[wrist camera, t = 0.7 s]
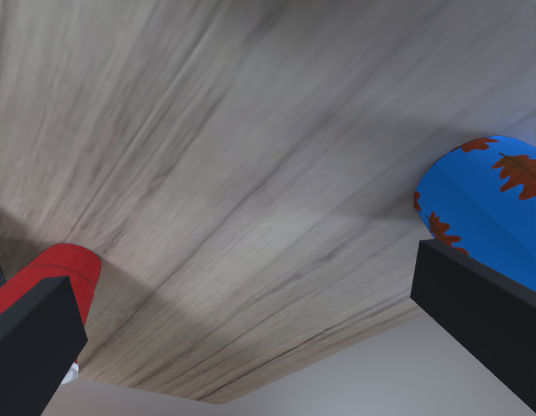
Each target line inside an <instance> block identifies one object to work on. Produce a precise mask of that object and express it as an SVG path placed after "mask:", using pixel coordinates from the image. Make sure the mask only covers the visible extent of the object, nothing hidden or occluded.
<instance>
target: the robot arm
mask: <svg viewBox="0 0 536 416" xmlns="http://www.w3.org/2000/svg"><path fill="white" fill-rule="evenodd" d="M410 298H411V299H412V300H413V301H415V302H416V303H417V304H418V305H419V306H420V307H421V308H422V309H423V310H424V311H425V312H426V313H428V314H429V315H430V316H431V317H432V318H433V319H434V320H435V321H436V322H437V323H438V324H440V325H441V326H442V327H443V328H444V329H445V330H446V331H447V332H448V333H449V334H450V335H451V336H453V337H454V338H455V339H456V340H457V341H458V342H459V343H460V344H461V345H462V346H463V347H465V348H466V349H467V350H468V351H469V352H470V353H471V354H472V355H473V356H474V357H475V358H477V359H478V360H479V361H480V362H481V363H482V364H483V365H484V366H485V367H486V368H487V369H489V370H490V371H491V372H492V373H493V374H494V375H495V376H496V377H497V378H498V379H499V380H500V381H501V382H503V383H504V384H505V385H506V386H507V387H508V388H509V389H510V390H511V391H512V392H513V393H515V394H516V395H517V396H518V397H519V398H520V399H521V400H522V401H523V402H524V403H525V404H526V405H528V406H529V407H530V408H531V409H532V410H533V411H534V412H535V413H536V292H535V291H533V290H532V289H530V288H528V287H526V286H524V285H522V284H520V283H518V282H517V281H515V280H513V279H511V278H509V277H507V276H505V275H503V274H501V273H500V272H498V271H496V270H494V269H492V268H490V267H488V266H486V265H485V264H483V263H481V262H479V261H477V260H475V259H473V258H471V257H469V256H468V255H466V254H464V253H462V252H460V251H458V250H456V249H454V248H453V247H451V246H449V245H447V244H445V243H443V242H441V241H439V240H438V239H430V240H420V241H419V247H418V253H417V259H416V265H415V271H414V277H413V283H412V289H411V295H410ZM87 341H88V339H87V336H86V332H85V329H84V325H83V322H82V319H81V315H80V312H79V308H78V305H77V302H76V298H75V295H74V291H73V288H72V285H71V281H70V278H69V275H67V276H57V277H46V278H43V279H42V280H40V281H39V282H38V283H37V284H36V285H34V286H33V287H32V288H31V289H30V290H28V291H27V292H26V293H25V294H24V295H23V296H21V297H20V298H19V299H18V300H17V301H15V302H14V303H13V304H12V305H11V306H10V307H8V308H7V309H6V310H5V311H4V312H2V313H1V314H0V416H40V415H41V414H42V412H43V411H44V409H45V407H46V406H47V404H48V403H49V401H50V400H51V398H52V396H53V395H54V393H55V392H56V390H57V389H58V387H59V385H60V384H61V382H62V381H63V379H64V377H65V376H66V374H67V373H68V371H69V370H70V368H71V366H72V365H73V363H74V362H75V360H76V358H77V357H78V355H79V354H80V352H81V351H82V349H83V347H84V346H85V344H86V343H87Z"/></svg>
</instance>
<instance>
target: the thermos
mask: <svg viewBox="0 0 536 416" xmlns="http://www.w3.org/2000/svg"><path fill="white" fill-rule="evenodd" d="M414 208H415V209H416V211H417V212H418V214H419V216H420V217H421V219H422V220H423V222H424V223H425V225H426V227H427V228H428V230H429V231H430V233H431V234H432V236H433V237H434V239H438V240H439V241H441V242H443V243H445V244H447V245H449V246H451V247H453V248H454V249H456V250H458V251H460V252H462V253H464V254H466V255H468V256H469V257H471V258H473V259H475V260H477V261H479V262H481V263H483V264H485V265H486V266H488V267H490V268H492V269H494V270H496V271H498V272H500V273H501V274H503V275H505V276H507V277H509V278H511V279H513V280H515V281H517V282H518V283H520V284H522V285H524V286H526V287H528V288H530V289H532V290H533V291H535V292H536V148H535V147H533V146H531V145H529V144H527V143H524V142H522V141H520V140H518V139H515V138H509V137H504V136H492V137H486V138H481V139H475V140H473V141H471V142H469V143H466V144H464V145H462V146H460V147H457V148H455V149H453V150H452V151H451V152H449V153H448V154H446V155H445V156H444V157H442V158H441V159H440V160H438V161H437V162H436V163H434V164H433V166H432V167H431V168H430V169H429V170H428V171H427V173H426V174H425V175H424V176H423V177H422V178H421V180H420V183H419V185H418V187H417V189H416V192H415V194H414Z"/></svg>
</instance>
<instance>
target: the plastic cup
mask: <svg viewBox="0 0 536 416" xmlns="http://www.w3.org/2000/svg"><path fill="white" fill-rule="evenodd" d="M100 270H101V262H100V260H99V258H98V257H97V256H96V255H95V254H94V253H92V252H91V251H89V250H87V249H85V248H83V247H81V246H77V245H73V244H56V245H53V246H51V247H49V248H48V249H46V250H44V251H43V252H42V253H41V254H40V255H39V256H38V257H36V258H35V259H34V260H33V261H32V262H31V263H30V264H28V265H27V266H26V267H23V268H22V269H21V270H20V271H19V272H18V273H17V274H15V275H14V276H13V277H12V278H11V279H10V280H9V281H7V282H6V283H5V284H4V285H3V286H2V287H1V288H0V314H1V313H2V312H4V311H5V310H6V309H7V308H8V307H10V306H11V305H12V304H13V303H14V302H15V301H17V300H18V299H19V298H20V297H21V296H23V295H24V294H25V293H26V292H27V291H28V290H30V289H31V288H32V287H33V286H34V285H36V284H37V283H38V282H39V281H40V280H42V279H43V278H46V277H57V276H67V275H69V278H70V281H71V285H72V288H73V291H74V295H75V298H76V302H77V305H78V308H79V312H80V315H81V319H82V322H83V325H84V326H85V323H86V319H87V316H88V313H89V309H90V306H91V303H92V300H93V296H94V290H95V287H96V284H97V281H98V278H99V275H100ZM77 358H78V357H77ZM77 358H76V360H75V362H74V363H73V365H72V366H71V368H70V370H69V371H68V373H67V374H66V376H65V377H64V379H63V381H62V382H61V384H60V385H59V386H62V385H66V384H69V383H71V382H72V381H74V380H76V379H77V378H78V365H77Z"/></svg>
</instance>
